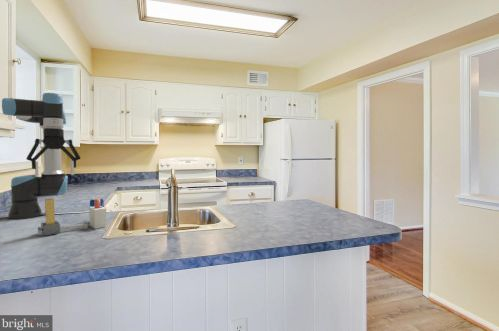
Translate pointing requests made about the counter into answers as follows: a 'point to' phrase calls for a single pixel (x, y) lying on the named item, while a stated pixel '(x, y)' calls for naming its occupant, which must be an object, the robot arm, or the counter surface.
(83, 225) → the rail
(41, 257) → the counter surface
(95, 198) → the beverage can
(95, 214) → the end cabinet
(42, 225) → the carriage
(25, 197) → the robot arm
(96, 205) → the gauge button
